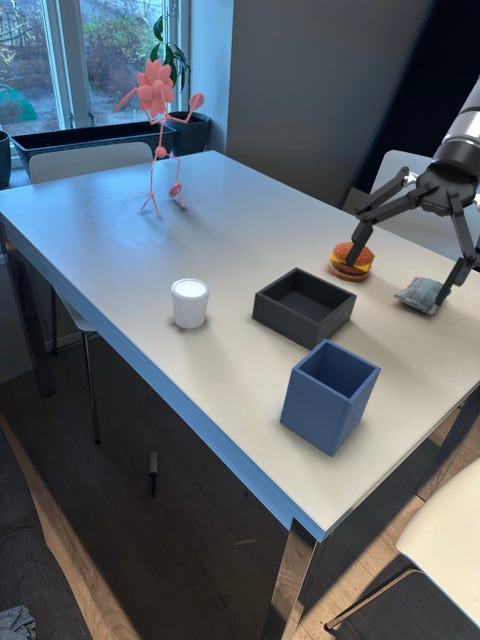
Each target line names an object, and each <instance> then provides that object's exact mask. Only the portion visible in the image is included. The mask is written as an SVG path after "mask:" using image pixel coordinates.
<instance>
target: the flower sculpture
mask: <svg viewBox="0 0 480 640" xmlns="http://www.w3.org/2000/svg"><path fill="white" fill-rule="evenodd" d="M171 72H172V66H171V65H170V64H163V66H162V62H161V59H159V58H157V59H155V60H154V61H152V60H150V59H147V60H146V63H145V67H144V72H140V71H138V73H137V74H136V75H137V76H136V79H137V84H138V85H139V87H134V89H132V90H131V91H129V93H127V94H126V95H125V96H124V97H123V98H122V99H121V100H120V102H119V103H118V104H117V105H116V106H115V108H114V109H113V111H112V112H111V113H112V114H115V113H117V111H118V110H120V109H121V108H122V107H123V106H125V105H126V103H127V102H128V101H129V100H130V99H131V98H132V96H133V95H134V94H136V95H137V98H138V100H139V102H140V103H139V110H140V111H141V112H144V113H145V115H146V117H147V119H148V122H149V124H150V126H152V125H155V124H157V123H160V122H162V123H161V124H160V132H159V142H158V146H157V148H156V149H155V151H154V154H155V155H154V160H153V163H152V166H151V169H150V191H149V196H148V198H147V199H146V201H145V203H144V204H143V205H142V207H141V208H140V211H143V209H144V208H145V206H146V205H147V204H148V203H149V202H150V200H151V199H152V201H153V204H154V208H155V211H156V214H157V216H158V217H160V216H161V214H160V210H159V208H158V205H157V202H156V199H155V196H154V194H155V192H156V191H155V190H153V169H154V167H155V163H156V160H157V158H159V159H163V158H165V157H166V156H168V157H170V158H172V159H174V160H177V161H178V162H177V170H176V178H175V184H174V185H173V186H172V187H171V188H170V189H169V191H168V196H169V197H170V199H174V198H175V197H176V196H177V195H178V199H179V202H180V204H181V207H182V208H184V207H185V205H184V202H183V199H182V195H181V190H182V187H183V186H182V184H181V183H178V181H179V172H180V163H181V160H180V158H178V157H175V156H174V155H171V154H169V153H167V150H166V148H165V147H164V146H162V138H163V131H164V126H165V124H166V123H167V122H168V121H170V120H172V121H175V122H179V123H183V124H188V123H189V121H190V119H191V116H192V114H193V112H194V111H196V110H198V109H199V108H201V107H202V106H203V105H204V104H205V96H204V93H202V92H201V91H198V92H197V93H194V94H193V95H192V96H191V97H190V98H189V101H188V103H189V104H188V105H189V107H190V111H189V113H188V115H187V117H186V119H185V120H184V119H180V118H177V117H173V116H171V115H170V114H169V111H168V107H167V104H173V103H174V102H175V94H174V91H173V89H172V88H173V87H174V81H173V80H172V78H171V74H172V73H171ZM148 111H149V112H148ZM159 114H160V115H164V114H165V116H164V117H161V118H159V119H156V120H154V121H152V119H155V118H156V117H158V115H159ZM144 193H147V191H144V192H143V191H142V194H144ZM140 194H141V192H139V193H136V194H135V193H132V194H131V195H129V196H127V197H125V199H124V200H122V199H121V200H120V202H124V201H125V200H127V199H129V198H130V197H133V196H136V195H140ZM196 201H197V202H199V203H200V200H199V199H196ZM120 206H122V204H120Z"/></svg>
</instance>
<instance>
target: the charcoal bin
mask: <svg viewBox="0 0 480 640" xmlns="http://www.w3.org/2000/svg"><path fill="white" fill-rule="evenodd" d="M357 298H358V295H357V294H355V293H353V292H351V291H349V290H347V289H344V288H342V287H340V286H339V285H336V284H334V283H332V282H329V281H327V280H326V279H323V278H321V277H318V276H316V275H314V274H313V273H310V272H308V271H306V270H304V269H301V268H300V267H297V266H296V267H294V268H293V269H291V270H289V271H288V272H286V273H284V274H283V275H281V276H279V278H276V279H275V280H274V281H272V282H271V283H269V284H267V285H266V286H264V287H262V288H261V289H260V290H258V291H256V292H255V294H254V299H253V300H254V301H253V307H252V314H251V319H253V320H255V321H257V322H258V323H260V324H262V325H264V326H266V327H267V328H269V329H271V330H272V331H275V332H276V333H278V334H280V335H282V336H283V337H285V338H287V339H289V340H290V341H292V342H294V343H296V344H298V345H300V346H301V347H302V348H305V349H307V350H308V351H309V352H311V351H312V350H313V349H314V348H315V347H316V346H317V345H318V344H320V343H321V342H322V341H323V340H324V339H327V340H328V341H329V339H330V338H331V337H332V336H333V335H335V334H336V332H338V331H339V330H340V329H341V328H342V327H343V326H344V325H345V324H346V323H348V321H350V320H351V317H352V314H353V311H354V307H355V304H356V301H357Z"/></svg>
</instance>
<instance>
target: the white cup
mask: <svg viewBox="0 0 480 640" xmlns="http://www.w3.org/2000/svg"><path fill="white" fill-rule="evenodd" d="M170 290H171V300H172V308H173V320H174V323H175V324H176V325H177V326H179V327H180V328H182V329H187V330H189V329H190V330H191V329H197V328H199V327H201V326H203V325H204V323H205V319H206V313H207V308H208V302H209V298H210V292H211V290H210V286H209V285H208V284H207V283H206V282H204V281H202V280H200V279H196V278H182V279H179V280H177V281H175V282H173V284H172V285H171V287H170Z"/></svg>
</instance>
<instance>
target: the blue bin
mask: <svg viewBox="0 0 480 640" xmlns="http://www.w3.org/2000/svg"><path fill="white" fill-rule="evenodd" d="M381 371H382V368H381V367H380V366H378V365H376V364H374V363H372V362H371V361H370V360H369V361H368V360H367V359H365V358H363V357H361V356H359V355H357V354H356V353H354V352H352V351H350V350H348V349H346V348H344V347H343V346H341V345H339V344H337V343H335V342H334V341H331V340H329V339H328V340H327V339H324V340H323V341H322V342H321V343H320V344H318V345H317V346H316V347H315V348H314V349H313V350H312V351H309V352H308V353H307V354H306V355H305V356H304V357H303V358H301V360H299V362H298V363H296V365H294V366H293V367H292V368H291V371H290V375H289V380H288V383H287V388H286V392H285V396H284V400H283V405H282V409H281V413H280V416H279V417H280V418H279V424H281V425H282V426H284V427H286V428H287V429H289V430H290V431H292V432H293V433H295V434H296V435H298V436H299V437H301V438H302V439H304V440H306V441H307V442H308V443H309V444H311V445H312V446H314V447H315V448H317V449H318V450H320V451H322V452H323V453H324V454H326V455H327V456H330V457H331V458H333V457H334V455H335V454H336V453H337V452H338V450H339V449H340V448H341V446H342V445H343V443H344V442H345V441H346V440H347V438H348V437H349V436H350V435H351V433H352V432H353V431H354V430H355V428H356V427H357V426H358V424H359V423H360V422H361V420H362V419H363V418H362V417H363V415H364V412H365V410H366V408H367V405H368V404H369V400H370V398H371V395H372V393H373V390H374V388H375V386H376V383H377V380H378V378H379V376H380V374H381Z"/></svg>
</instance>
